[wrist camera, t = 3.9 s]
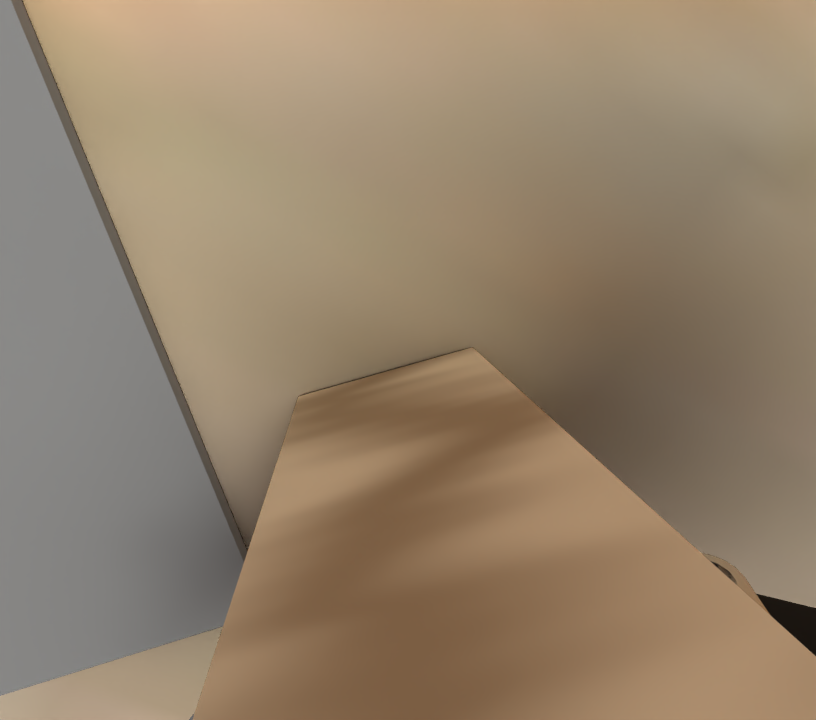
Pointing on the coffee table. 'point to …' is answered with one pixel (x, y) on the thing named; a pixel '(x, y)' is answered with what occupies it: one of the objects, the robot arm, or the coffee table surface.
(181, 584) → the mat
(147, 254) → the coffee table surface
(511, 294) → the coffee table surface
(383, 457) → the case
